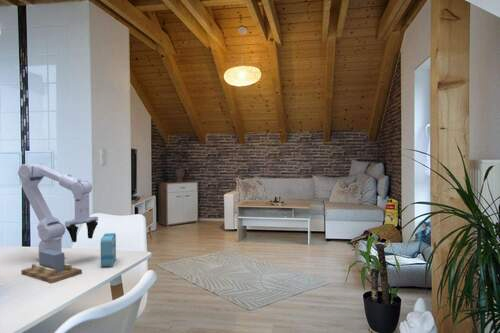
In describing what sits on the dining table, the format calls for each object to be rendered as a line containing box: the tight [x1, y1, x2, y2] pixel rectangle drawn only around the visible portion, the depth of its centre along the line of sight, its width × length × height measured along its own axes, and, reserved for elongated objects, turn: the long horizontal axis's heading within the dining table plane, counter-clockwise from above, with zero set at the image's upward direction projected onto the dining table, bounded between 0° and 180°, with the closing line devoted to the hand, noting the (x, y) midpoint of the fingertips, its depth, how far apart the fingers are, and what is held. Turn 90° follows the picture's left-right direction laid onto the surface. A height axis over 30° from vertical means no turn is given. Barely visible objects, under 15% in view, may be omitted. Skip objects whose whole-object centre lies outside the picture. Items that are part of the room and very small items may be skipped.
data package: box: [100, 232, 117, 268], centre depth 148 cm, size 12×4×12 cm, turn 15°
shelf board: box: [20, 263, 83, 284], centre depth 135 cm, size 20×12×4 cm, turn 61°
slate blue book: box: [38, 249, 66, 273], centre depth 135 cm, size 10×4×7 cm, turn 61°
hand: (82, 240), depth 150 cm, fingers open, 7 cm apart
